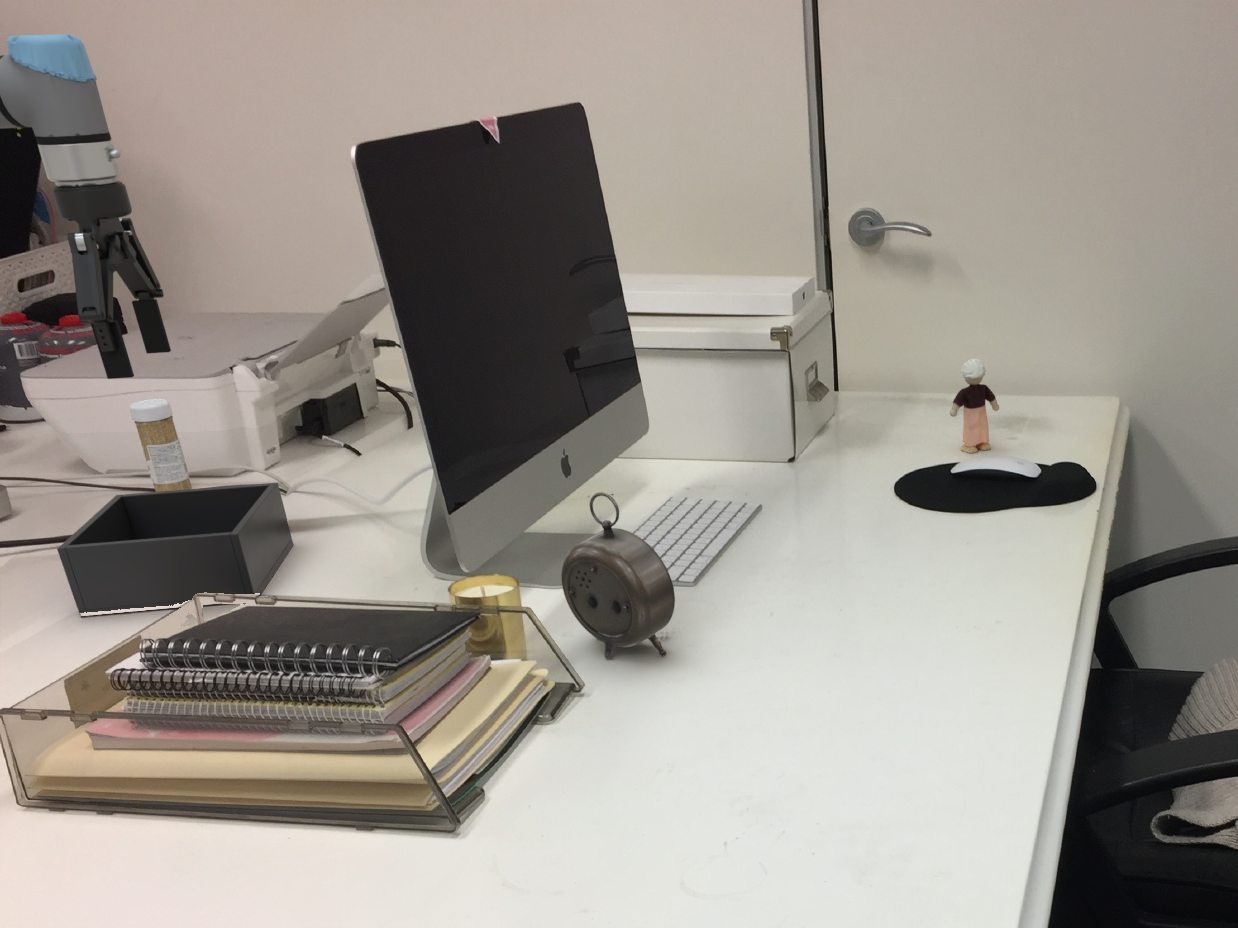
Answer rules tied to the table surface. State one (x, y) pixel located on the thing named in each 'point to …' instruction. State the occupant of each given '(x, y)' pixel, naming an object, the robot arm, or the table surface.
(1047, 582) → the table surface
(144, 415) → the sprinkles bottle
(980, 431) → the grandmother figurine
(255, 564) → the basket
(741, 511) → the table surface
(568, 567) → the alarm clock
